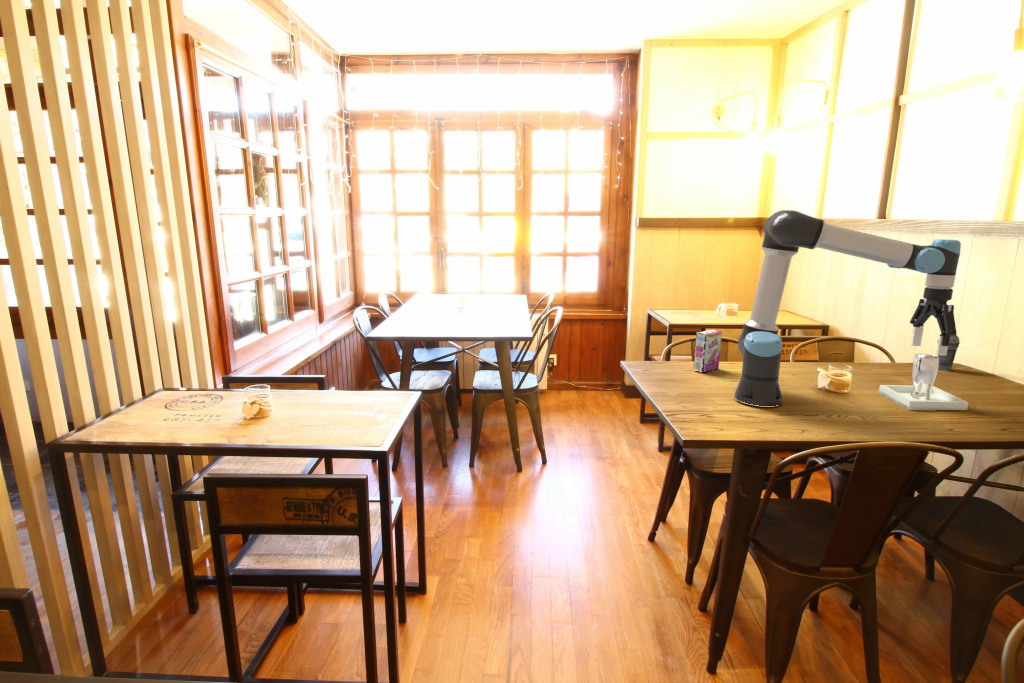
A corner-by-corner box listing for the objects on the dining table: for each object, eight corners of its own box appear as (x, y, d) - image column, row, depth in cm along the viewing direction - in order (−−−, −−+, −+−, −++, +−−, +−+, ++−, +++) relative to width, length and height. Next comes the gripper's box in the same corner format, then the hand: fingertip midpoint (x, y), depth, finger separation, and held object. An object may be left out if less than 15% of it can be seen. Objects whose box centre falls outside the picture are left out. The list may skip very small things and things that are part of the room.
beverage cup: (945, 367, 235) (953, 320, 230) (959, 371, 228) (968, 323, 223) (928, 367, 234) (936, 320, 230) (942, 372, 227) (950, 323, 223)
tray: (908, 409, 184) (909, 401, 184) (878, 392, 202) (879, 384, 201) (966, 411, 183) (968, 402, 182) (931, 393, 200) (933, 385, 200)
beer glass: (937, 400, 191) (944, 357, 187) (924, 402, 188) (931, 359, 185) (916, 394, 197) (923, 352, 194) (903, 396, 194) (909, 354, 191)
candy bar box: (703, 373, 228) (706, 334, 224) (692, 371, 232) (695, 332, 228) (719, 369, 234) (722, 330, 231) (709, 366, 238) (712, 329, 235)
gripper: (978, 292, 171) (965, 360, 176) (927, 282, 195) (917, 342, 200) (952, 292, 172) (940, 359, 177) (904, 282, 196) (895, 341, 201)
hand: (927, 350), depth 188 cm, fingers open, 13 cm apart
